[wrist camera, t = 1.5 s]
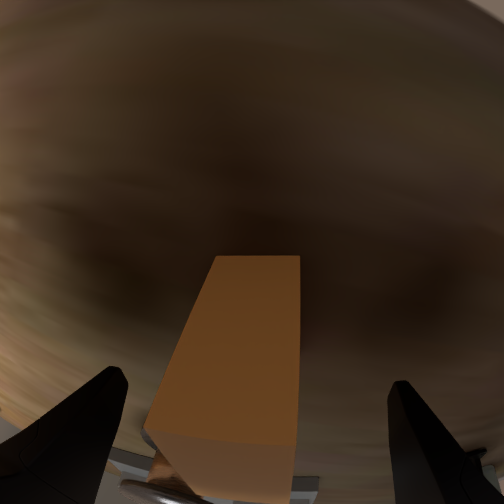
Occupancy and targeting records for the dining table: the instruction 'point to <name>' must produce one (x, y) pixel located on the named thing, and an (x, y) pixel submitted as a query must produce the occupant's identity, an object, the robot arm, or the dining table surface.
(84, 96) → the dining table surface
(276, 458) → the orange tab
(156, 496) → the grey and brown spool
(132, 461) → the notched board
